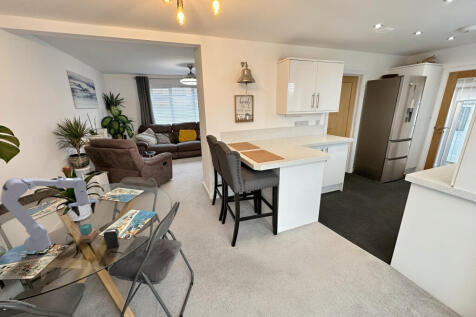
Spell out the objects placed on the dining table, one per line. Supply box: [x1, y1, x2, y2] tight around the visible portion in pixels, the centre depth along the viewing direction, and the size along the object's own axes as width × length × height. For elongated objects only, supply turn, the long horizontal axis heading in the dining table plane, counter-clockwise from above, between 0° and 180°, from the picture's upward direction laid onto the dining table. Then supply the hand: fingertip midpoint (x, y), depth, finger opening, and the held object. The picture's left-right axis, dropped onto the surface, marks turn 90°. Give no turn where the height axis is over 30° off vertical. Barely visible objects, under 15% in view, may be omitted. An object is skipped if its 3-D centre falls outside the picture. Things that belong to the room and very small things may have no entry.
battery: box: [102, 228, 121, 249], centre depth 109 cm, size 7×4×11 cm, turn 104°
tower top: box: [78, 228, 97, 240], centre depth 114 cm, size 6×6×2 cm
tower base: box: [77, 231, 99, 244], centre depth 115 cm, size 7×7×2 cm
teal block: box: [79, 223, 93, 235], centre depth 113 cm, size 4×4×5 cm
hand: (86, 214), depth 121 cm, fingers open, 7 cm apart
